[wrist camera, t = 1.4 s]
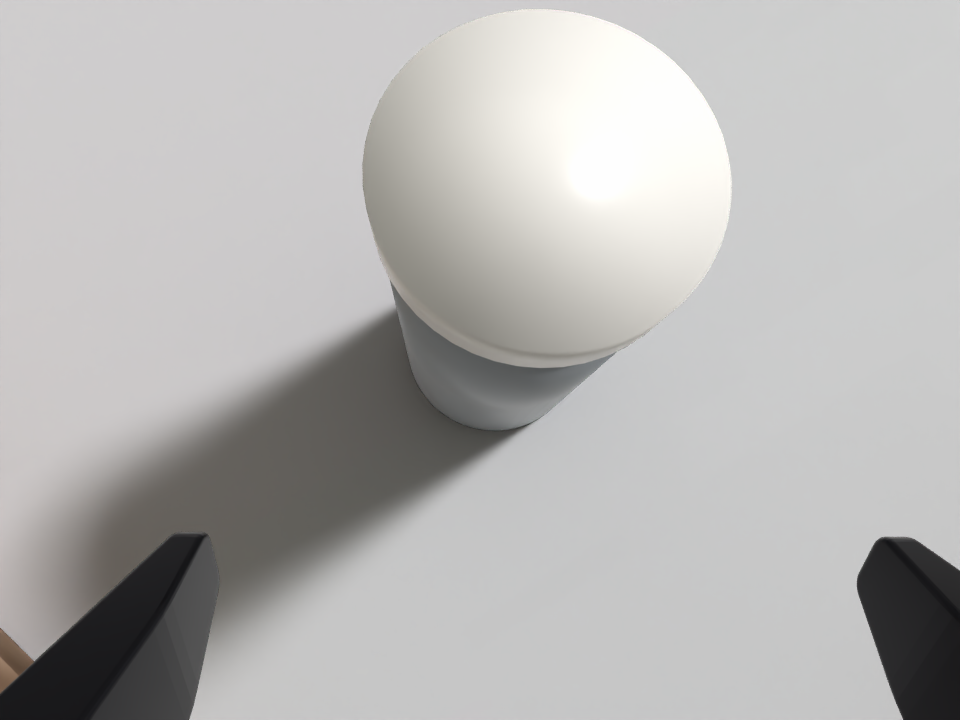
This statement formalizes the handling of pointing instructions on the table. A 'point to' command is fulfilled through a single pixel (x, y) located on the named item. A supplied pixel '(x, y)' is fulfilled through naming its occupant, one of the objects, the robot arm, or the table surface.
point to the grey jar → (538, 205)
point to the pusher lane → (11, 660)
